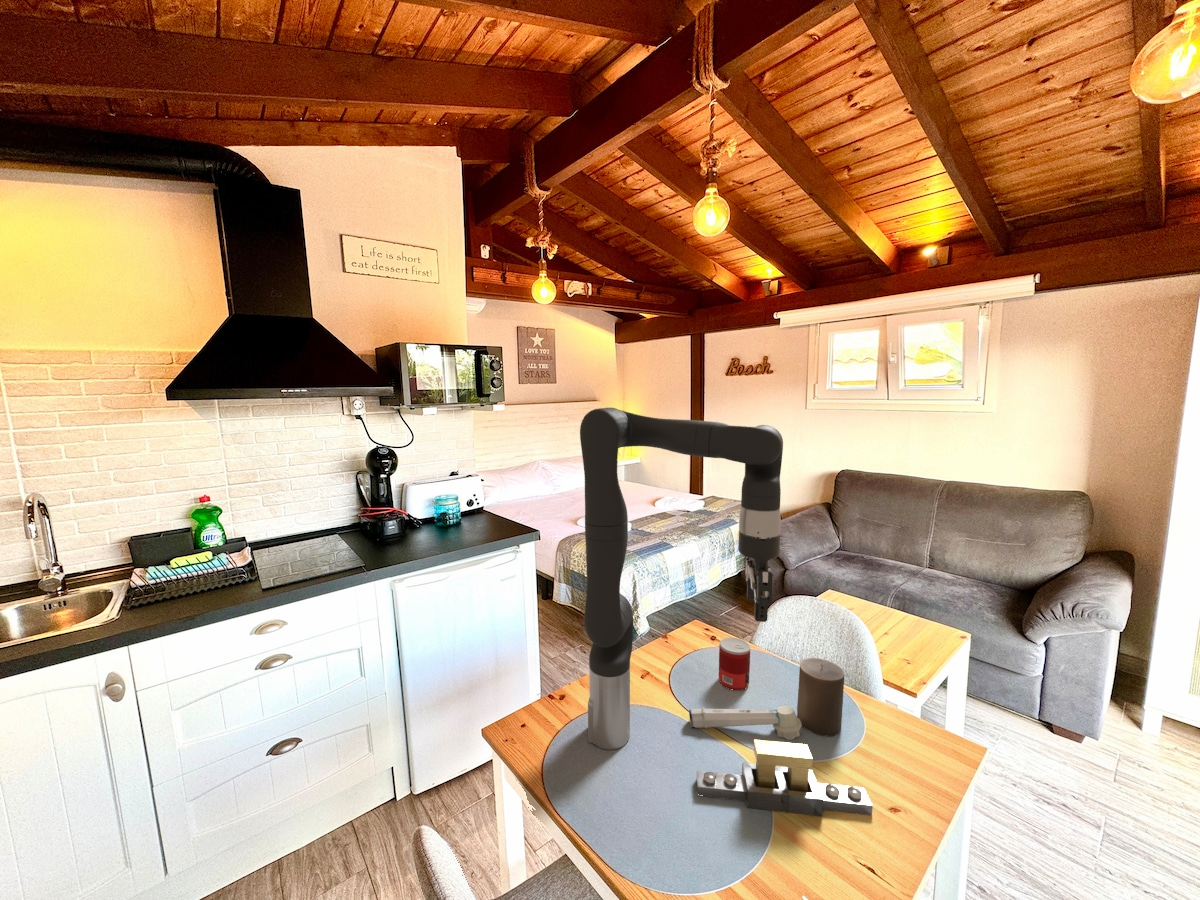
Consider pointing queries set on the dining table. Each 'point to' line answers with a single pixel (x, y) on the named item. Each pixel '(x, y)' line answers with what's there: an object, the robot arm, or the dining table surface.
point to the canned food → (734, 663)
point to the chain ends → (783, 793)
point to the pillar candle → (820, 696)
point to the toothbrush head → (749, 719)
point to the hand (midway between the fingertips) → (756, 610)
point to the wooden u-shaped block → (782, 764)
